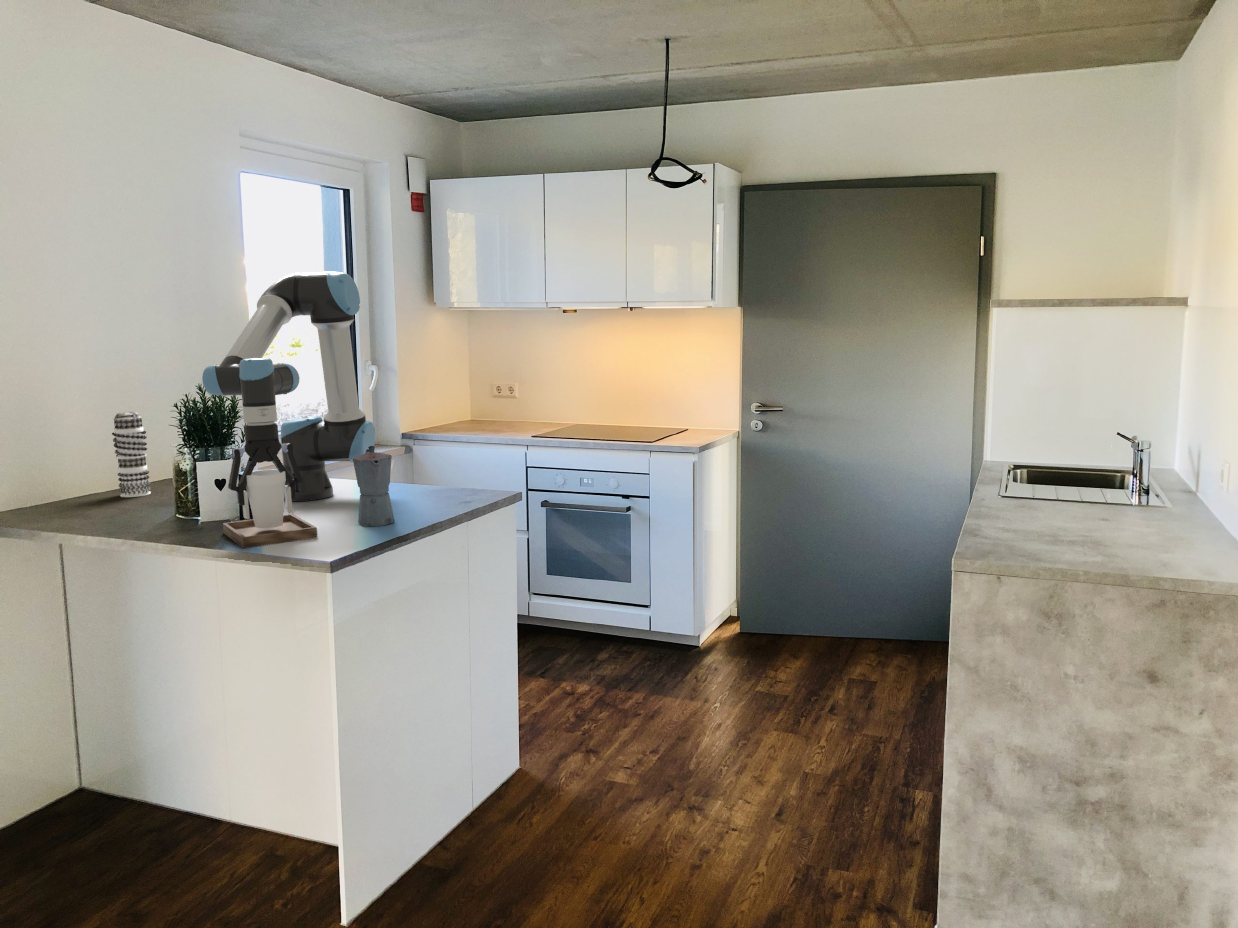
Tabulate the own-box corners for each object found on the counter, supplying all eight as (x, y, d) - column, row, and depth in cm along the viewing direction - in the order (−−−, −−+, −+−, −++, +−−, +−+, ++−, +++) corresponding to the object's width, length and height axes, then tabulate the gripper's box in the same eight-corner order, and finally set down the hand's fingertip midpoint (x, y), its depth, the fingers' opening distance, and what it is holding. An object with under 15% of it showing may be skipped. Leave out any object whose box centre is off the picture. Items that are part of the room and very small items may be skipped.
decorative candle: (148, 496, 288) (140, 413, 284) (114, 498, 286) (106, 415, 282) (155, 491, 297) (147, 410, 293) (123, 492, 295) (114, 412, 291)
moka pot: (363, 530, 236) (358, 450, 232) (349, 519, 249) (344, 443, 246) (401, 526, 240) (397, 447, 237) (386, 515, 253) (381, 440, 250)
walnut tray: (293, 523, 246) (292, 513, 245) (317, 537, 229) (316, 527, 229) (223, 533, 236) (222, 523, 236) (243, 548, 220) (242, 537, 219)
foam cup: (275, 530, 227) (271, 476, 225) (240, 529, 229) (235, 475, 227) (296, 521, 236) (292, 469, 234) (262, 520, 238) (258, 469, 236)
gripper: (215, 428, 219) (224, 524, 223) (311, 420, 232) (318, 511, 235) (208, 425, 225) (216, 518, 229) (302, 418, 238) (309, 506, 241)
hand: (268, 515), depth 232 cm, fingers closed on foam cup, 9 cm apart
